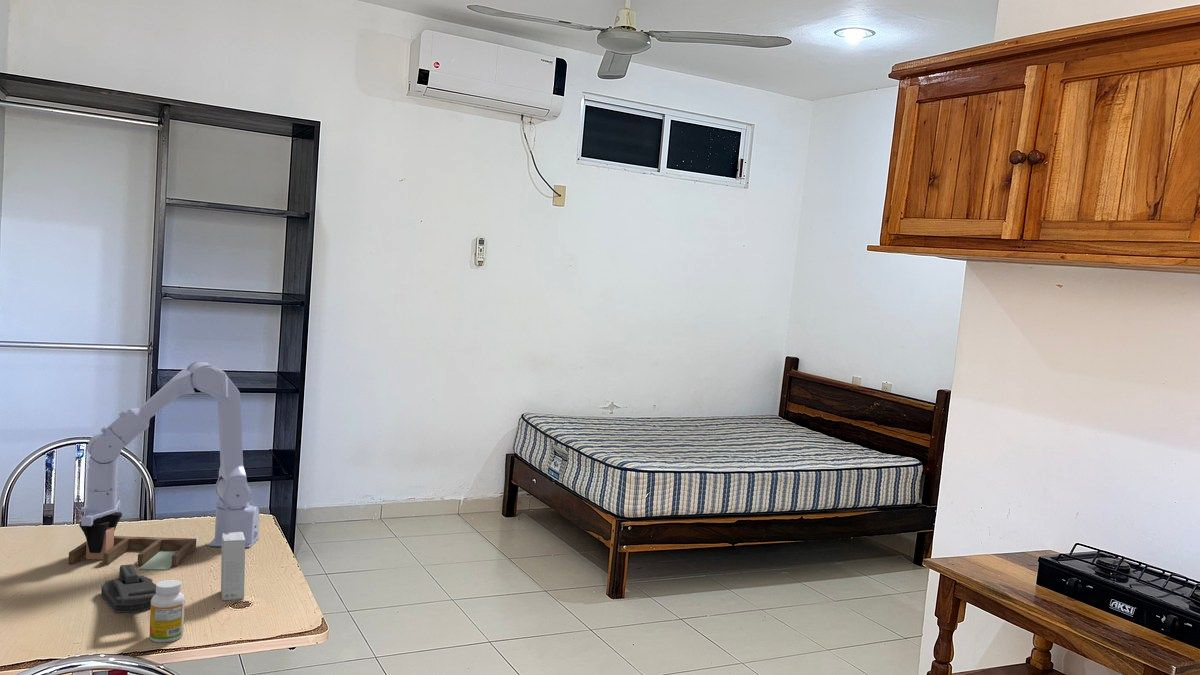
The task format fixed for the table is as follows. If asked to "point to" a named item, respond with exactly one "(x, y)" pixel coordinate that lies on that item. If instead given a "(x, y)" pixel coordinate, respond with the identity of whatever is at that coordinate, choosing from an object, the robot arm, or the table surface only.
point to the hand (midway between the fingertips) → (100, 549)
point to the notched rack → (145, 551)
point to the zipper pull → (128, 591)
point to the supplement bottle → (167, 612)
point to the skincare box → (232, 566)
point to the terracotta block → (107, 545)
